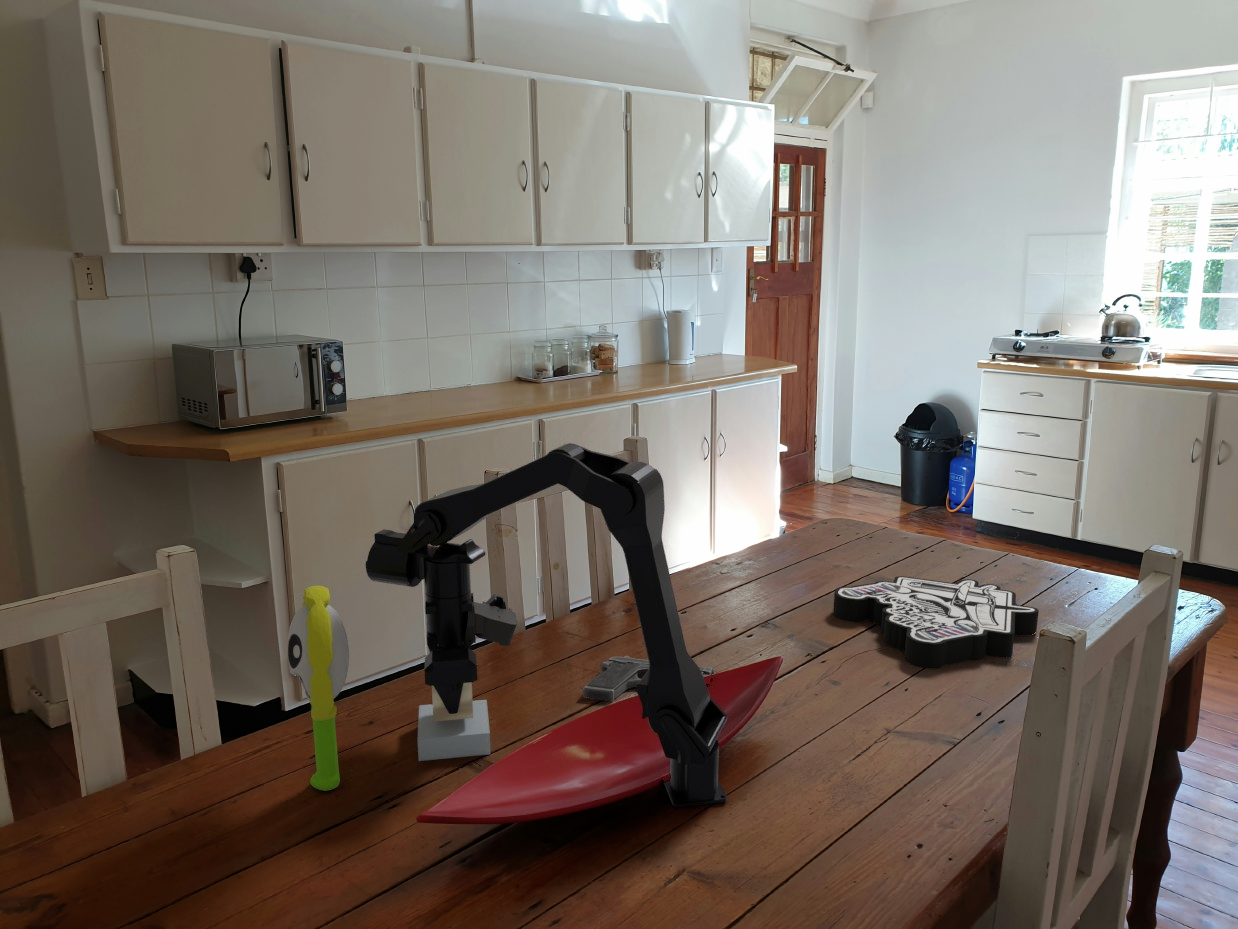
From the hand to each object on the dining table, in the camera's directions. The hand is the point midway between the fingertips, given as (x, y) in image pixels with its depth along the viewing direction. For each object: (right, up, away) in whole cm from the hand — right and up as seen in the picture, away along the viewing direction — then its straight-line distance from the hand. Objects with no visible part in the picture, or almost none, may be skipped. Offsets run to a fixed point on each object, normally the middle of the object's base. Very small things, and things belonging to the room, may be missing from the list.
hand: (453, 703), depth 120 cm
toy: (-13, -8, -9) cm, 18 cm away
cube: (0, -1, 0) cm, 1 cm away
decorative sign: (+77, +3, +38) cm, 86 cm away
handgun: (+26, -2, +16) cm, 31 cm away
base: (0, -5, +1) cm, 5 cm away
